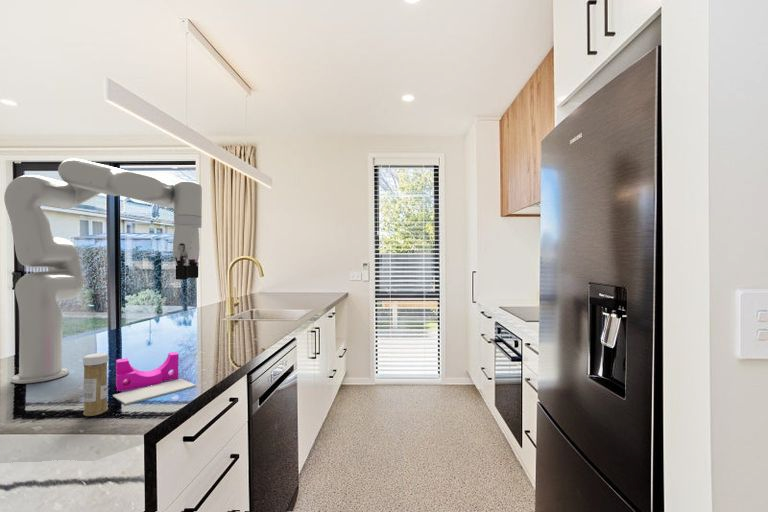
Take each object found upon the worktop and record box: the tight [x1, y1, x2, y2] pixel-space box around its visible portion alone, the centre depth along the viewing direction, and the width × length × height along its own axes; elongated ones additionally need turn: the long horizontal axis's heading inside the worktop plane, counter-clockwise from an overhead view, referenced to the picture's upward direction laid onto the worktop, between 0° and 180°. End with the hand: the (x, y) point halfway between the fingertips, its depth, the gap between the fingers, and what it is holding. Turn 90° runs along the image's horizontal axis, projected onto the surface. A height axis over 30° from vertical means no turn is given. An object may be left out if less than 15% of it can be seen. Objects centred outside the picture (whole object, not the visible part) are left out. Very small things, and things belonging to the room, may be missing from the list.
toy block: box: [115, 351, 180, 393], centre depth 108 cm, size 15×6×8 cm, turn 128°
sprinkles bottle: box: [82, 352, 109, 417], centre depth 87 cm, size 5×5×14 cm
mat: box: [112, 378, 197, 406], centre depth 101 cm, size 9×17×1 cm, turn 142°
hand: (187, 278), depth 114 cm, fingers open, 9 cm apart
